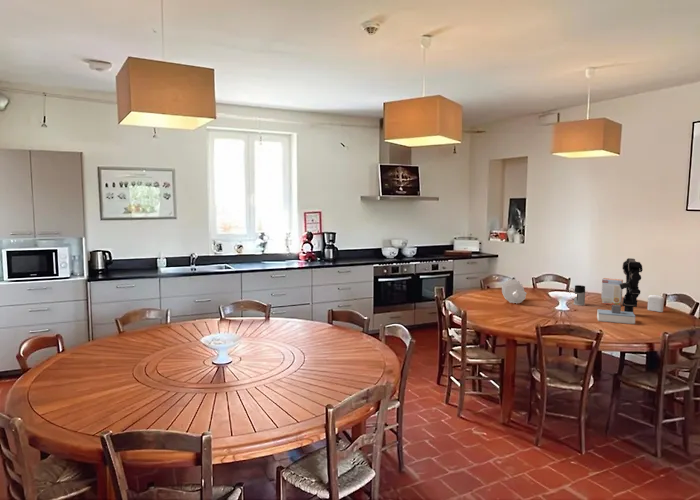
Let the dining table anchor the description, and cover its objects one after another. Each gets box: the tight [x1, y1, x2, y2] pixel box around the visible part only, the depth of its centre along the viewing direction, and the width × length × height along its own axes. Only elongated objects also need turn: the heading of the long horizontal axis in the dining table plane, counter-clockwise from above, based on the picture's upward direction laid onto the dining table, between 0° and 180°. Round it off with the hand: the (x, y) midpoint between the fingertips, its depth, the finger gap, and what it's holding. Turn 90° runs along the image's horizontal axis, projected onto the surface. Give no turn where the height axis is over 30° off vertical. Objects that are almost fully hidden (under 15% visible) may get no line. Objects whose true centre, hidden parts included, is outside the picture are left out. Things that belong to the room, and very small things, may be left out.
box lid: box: [596, 308, 636, 318], centre depth 321 cm, size 12×22×1 cm, turn 66°
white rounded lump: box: [501, 278, 528, 304], centre depth 383 cm, size 18×18×25 cm
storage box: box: [596, 310, 636, 325], centre depth 322 cm, size 12×22×5 cm, turn 66°
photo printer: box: [647, 294, 665, 313], centre depth 349 cm, size 10×4×12 cm, turn 39°
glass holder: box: [568, 284, 586, 306], centre depth 371 cm, size 9×14×15 cm, turn 104°
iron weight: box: [611, 305, 622, 314], centre depth 321 cm, size 5×5×5 cm
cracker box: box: [600, 277, 624, 307], centre depth 370 cm, size 14×6×21 cm, turn 50°
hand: (632, 300), depth 325 cm, fingers open, 9 cm apart
